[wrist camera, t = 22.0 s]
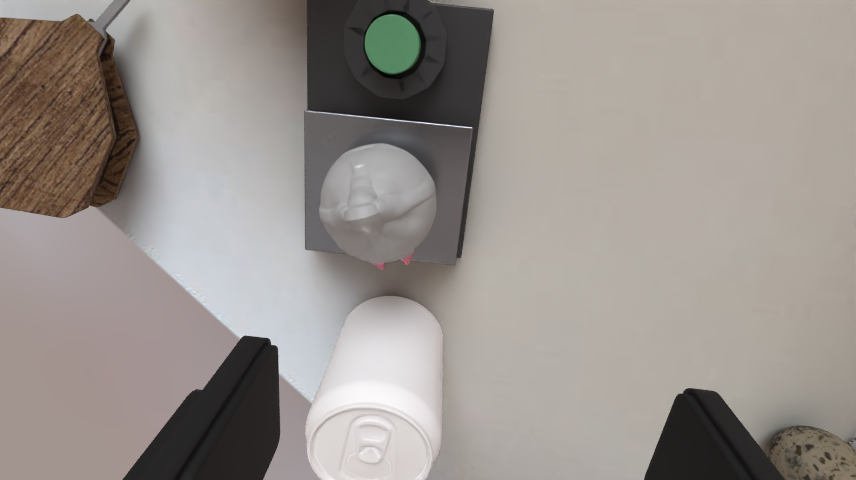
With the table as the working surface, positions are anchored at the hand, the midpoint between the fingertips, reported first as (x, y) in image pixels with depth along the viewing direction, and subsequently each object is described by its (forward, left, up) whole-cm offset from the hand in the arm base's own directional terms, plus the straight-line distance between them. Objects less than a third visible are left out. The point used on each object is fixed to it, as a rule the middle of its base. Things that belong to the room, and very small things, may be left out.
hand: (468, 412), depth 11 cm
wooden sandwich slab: (-4, -25, -19) cm, 32 cm away
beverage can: (+14, -3, -23) cm, 27 cm away
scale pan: (+1, -4, -20) cm, 20 cm away
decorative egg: (+19, +31, -23) cm, 43 cm away
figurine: (+1, -4, -19) cm, 20 cm away
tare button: (-8, -4, -20) cm, 22 cm away
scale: (-2, -4, -23) cm, 23 cm away
